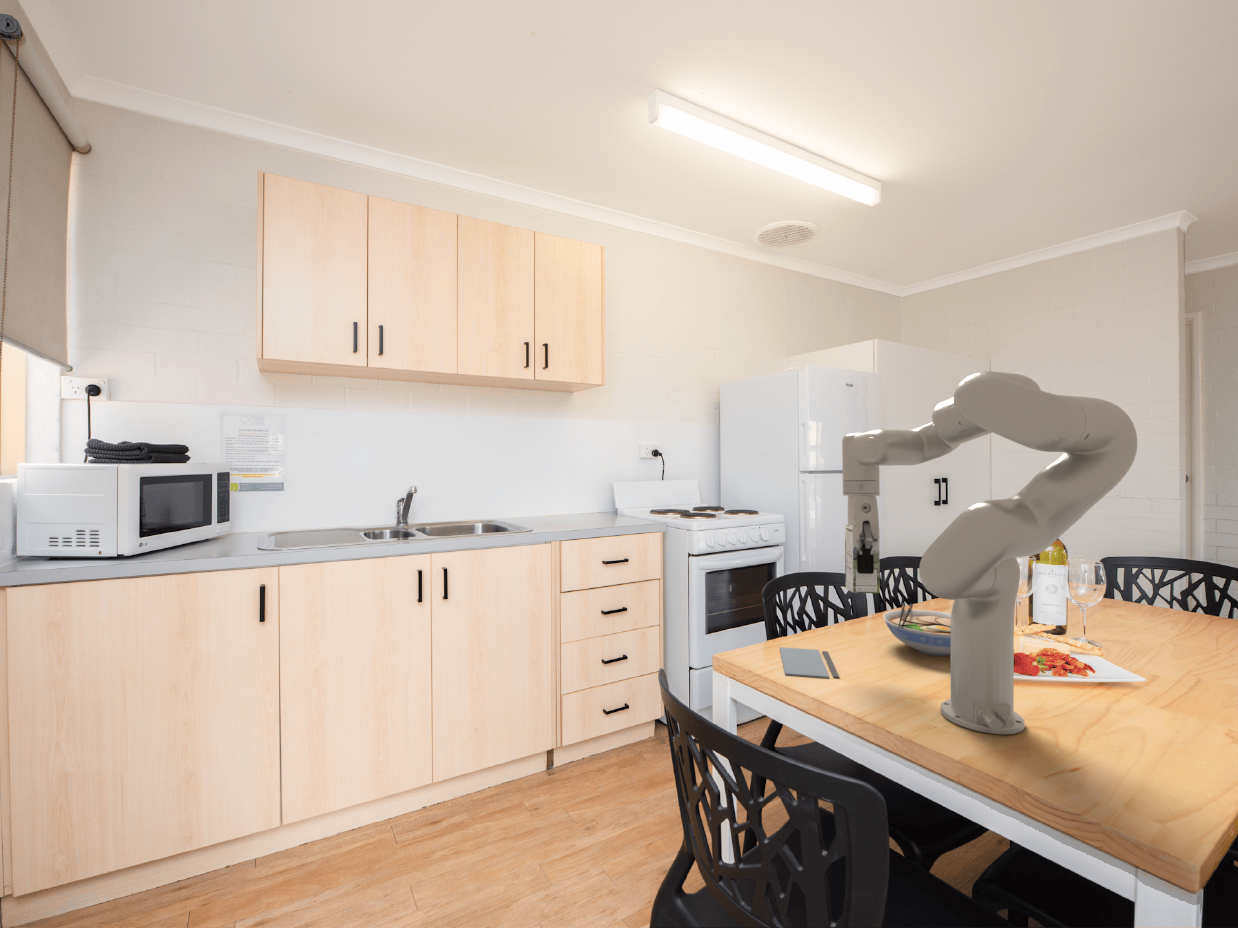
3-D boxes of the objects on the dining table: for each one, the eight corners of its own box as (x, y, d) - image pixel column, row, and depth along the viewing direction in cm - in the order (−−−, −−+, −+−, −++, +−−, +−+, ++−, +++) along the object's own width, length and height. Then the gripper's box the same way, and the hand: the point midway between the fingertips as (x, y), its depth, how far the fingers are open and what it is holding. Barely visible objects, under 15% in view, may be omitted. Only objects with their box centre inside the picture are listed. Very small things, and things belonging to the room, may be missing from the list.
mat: (829, 678, 122) (829, 676, 122) (785, 674, 124) (785, 673, 124) (818, 651, 140) (818, 649, 140) (779, 648, 142) (779, 647, 142)
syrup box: (871, 588, 130) (870, 524, 130) (880, 594, 124) (879, 526, 124) (845, 588, 130) (844, 523, 130) (853, 593, 124) (852, 526, 125)
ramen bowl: (991, 676, 123) (991, 638, 123) (875, 657, 135) (875, 622, 135) (988, 645, 145) (988, 612, 145) (888, 631, 157) (888, 601, 157)
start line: (839, 678, 122) (839, 676, 122) (833, 677, 122) (833, 676, 122) (827, 652, 139) (827, 651, 139) (822, 652, 139) (822, 650, 139)
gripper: (889, 490, 118) (890, 578, 118) (870, 488, 135) (871, 565, 135) (850, 490, 120) (851, 577, 119) (836, 488, 137) (837, 564, 136)
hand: (862, 569), depth 127 cm, fingers closed on syrup box, 6 cm apart
